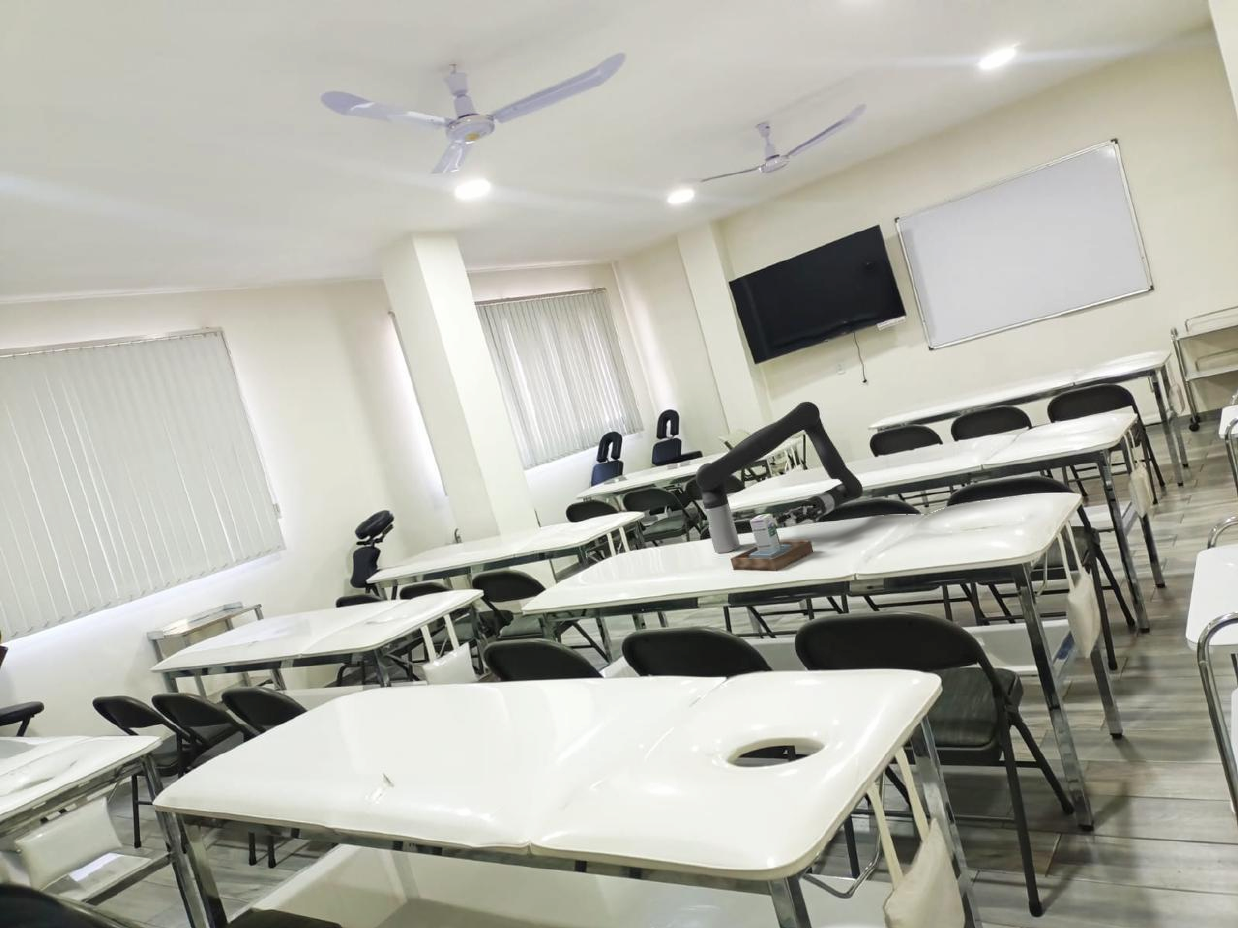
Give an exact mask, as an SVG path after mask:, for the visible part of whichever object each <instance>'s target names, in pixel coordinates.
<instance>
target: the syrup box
mask: <svg viewBox="0 0 1238 928" xmlns="http://www.w3.org/2000/svg"><path fill="white" fill-rule="evenodd" d="M749 523H750V527H751V531H752V532H753V533H752V535H753V537H754V540H755V545H756V546H757V548H758V551H759V554H771V553H773V552H775V551H777V550H780V549H782V547H781V544H780V541H781V540H780V538H779V534H778V530H777V528H776V527H777V526H776V524H775V520H774V516H773V513H764V514H760V515H757V516H755V517H754V518H752V519H751V520H749Z"/></svg>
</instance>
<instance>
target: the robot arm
mask: <svg viewBox="0 0 1238 928" xmlns="http://www.w3.org/2000/svg"><path fill="white" fill-rule="evenodd" d="M820 415H821V413H820V408H819V407H818V406H817V405H816V404H815V403H814V402H811V401H802V402H800V403H798V404H797V406H795V408H793V409H792V410H791V411H789V412H788V413H787V414H786V415H784V416H783V417H782V418H780V419H778V420H777V421H775V422H772V423H771V424H768V425H766V426H763V428H762V427H761V429H759V430H756V431H755V432H753V433H752V434H750V435H749V436H747V437H745V438H744V439H742V440H741V441H740V442H738V443H737V444H736V445H735V446H734V447H732V448H731V449H730V450H729V451H728V452H727V453H726V454H724V455H723V456H721V457H720V458H718V459H715V460H714V461H712V462H707V463H704V464H702V465H700V467H699V468H698V469H697V471H696V473H695V482H696V484H697V486H698V487H699V489H700V493H701V497H702V499H701V500H702V504H703V508H704V511H705V515H706V517H707V519H706V520H707V523H708V524H709V526H708V532H709V536H710V539H711V543H712V547H713V550H714V553H717V554H725V553H729V552H733V551H735V550H737V549H740V548H741V544H740V539H739V536H738V531H737V529H736V528H737V527H736V525H735V520H734V518H733V517H734V516H733V513H732V510H731V506H730V503H729V499H728V494H727V489H726V485H725V480H726V479H728V478H729V477H730V476H732V475H733V474H735V473H736V472H737V473H738V471H740V470H743V469H744V468H746V467H748V466H750V465H752V464H754V463H755V462H757V461H759V460H760V459H761V460H762V458H764V457H766V456H767V455H769V454H770V453H771V452H773V451H774V450H776V449H777V448H779V446H781V445H782V444H783V443H785V442H786V441H787V440H788V439H789V438H791V437H793V436H795V435H796V434H798V433H800V432H802V431H804V432H805V434H806V436H807V437H808V438H809V440H810V442H811V444H812V445H813V447H814V449H815V451H816V454H817V456H818V458H819V460H820V463H821V464H822V466H823V467H824V470H825V471H826V474H827V476H828V477H829V478H830V479H831V480H839V482H841V483H840V484H837V485H835V486H833V487H831V488H830V489H827V490H825V491H823V492H821V493H817V494H814V495H813V496H811V497H808V498H806V499H804V500H803V501H802V503H801V506H798V507H796V508H793V507H792V508H788V509H787V510H785V511H783V512H780V516H778V517H776V524H778V525H779V524H780V525H781V524H782V523H785V522H787V521H794V522H795V524H796V525H798V524H801V523H802V522H804V521H805V522H806V521H808V520H810V521H811V520H812V521H814V520H818V519H819V518H821V517H823V516H825V515H827V514H829V513H830V512H832V511H833V510H835V509H837V508H839V507H841V505H843V504H845V503H848V502H851V501H854V500H857V499H859V498H862V496H863V492H864V489H863V488H864V487H863V484H862V483H861V481H860V480H859V479H858V478H857V477H856V475H855V474H854V473H853V472H852V471H851V470H850V469H849V468H848V466H846V464H845V461H844V460H843V458H842V456H841V453H840V452H839V450H838V448H836V446H835V445H834V443H833V442H832V440H831V438H830V437H829V435H828V432H827V431H826V430H825V427H824V425H823V422H822V419H821V416H820ZM794 516H795V517H794Z"/></svg>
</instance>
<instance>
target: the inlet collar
mask: <svg viewBox="0 0 1238 928" xmlns="http://www.w3.org/2000/svg"><path fill="white" fill-rule="evenodd" d="M781 547H782V549H780V550H777V551H775V552H773V553H771V554H759V551H756V552H754V553H752V554H749V556H750V558H774V557H776V556H778V555H780V554H782V553H785V552H787V551H789V550H791V549H792V546H791V545H781Z"/></svg>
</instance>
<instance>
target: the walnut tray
mask: <svg viewBox="0 0 1238 928" xmlns="http://www.w3.org/2000/svg"><path fill="white" fill-rule="evenodd" d="M780 544H781V545H791V546H792V549H791V550H789V551H787V552H785V553H782V554H780V555H778V556H776V557H774V558H750V556H749V554H752V553H754V552H756V551H758V548H757V545H756V546H754V547H752V548H750V549H747V550H746V551H743V552H741V553H739V554H738V555H735V556H733V557H730V562H731V565H732V570H733V571H756V572H758V571H759V572H760V571H762V572H764V571H765V572H777V571H779V570H782V569H783V568H785V567H787V566H789V565H791V564H793V563H796V562H797V561H799V560H801V559H803V558H806V557H807V556H809V555H811V554H813V553H814V549H813V546H812V541H811V540H780Z"/></svg>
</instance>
